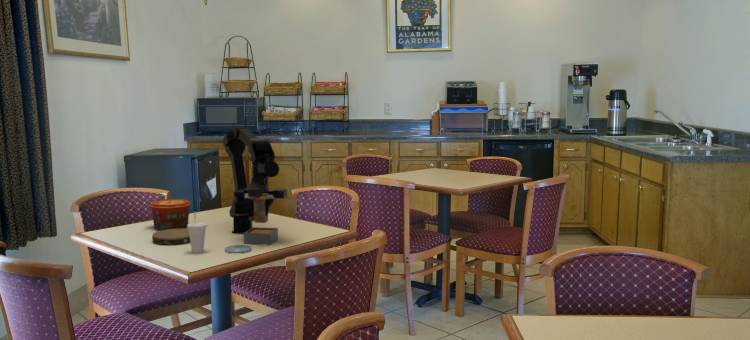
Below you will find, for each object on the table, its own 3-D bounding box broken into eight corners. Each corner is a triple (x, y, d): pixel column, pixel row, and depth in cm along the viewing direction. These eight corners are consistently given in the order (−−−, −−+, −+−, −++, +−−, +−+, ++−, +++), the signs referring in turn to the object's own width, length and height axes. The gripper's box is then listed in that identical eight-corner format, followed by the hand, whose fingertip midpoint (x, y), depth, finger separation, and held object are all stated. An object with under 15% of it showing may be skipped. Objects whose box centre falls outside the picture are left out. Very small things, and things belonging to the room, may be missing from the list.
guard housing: (243, 243, 212) (243, 233, 212) (252, 237, 222) (252, 227, 221) (270, 244, 211) (270, 234, 210) (278, 238, 221) (277, 228, 220)
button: (248, 238, 213) (247, 234, 213) (254, 233, 220) (254, 229, 220) (268, 238, 212) (268, 234, 212) (274, 233, 220) (273, 230, 219)
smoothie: (190, 249, 203) (189, 210, 202) (209, 249, 204) (207, 210, 202) (186, 254, 197) (184, 214, 195) (205, 254, 198) (204, 213, 196)
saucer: (221, 253, 199) (220, 250, 199) (230, 246, 208) (230, 244, 208) (246, 254, 198) (246, 251, 198) (254, 247, 207) (254, 245, 207)
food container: (194, 230, 234) (193, 203, 233) (152, 233, 227) (151, 206, 226) (188, 222, 248) (187, 197, 247) (148, 225, 241) (147, 200, 240)
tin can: (197, 234, 227) (196, 227, 226) (198, 244, 212) (198, 236, 212) (153, 237, 222) (153, 230, 221) (151, 247, 207) (151, 239, 206)
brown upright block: (254, 222, 214) (253, 201, 213) (257, 220, 218) (257, 199, 217) (264, 222, 213) (264, 201, 212) (268, 220, 217) (267, 199, 216)
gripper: (227, 176, 206) (228, 219, 208) (279, 177, 204) (279, 221, 206) (238, 172, 217) (239, 213, 219) (287, 173, 215) (287, 215, 217)
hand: (261, 216), depth 215 cm, fingers closed on brown upright block, 4 cm apart
